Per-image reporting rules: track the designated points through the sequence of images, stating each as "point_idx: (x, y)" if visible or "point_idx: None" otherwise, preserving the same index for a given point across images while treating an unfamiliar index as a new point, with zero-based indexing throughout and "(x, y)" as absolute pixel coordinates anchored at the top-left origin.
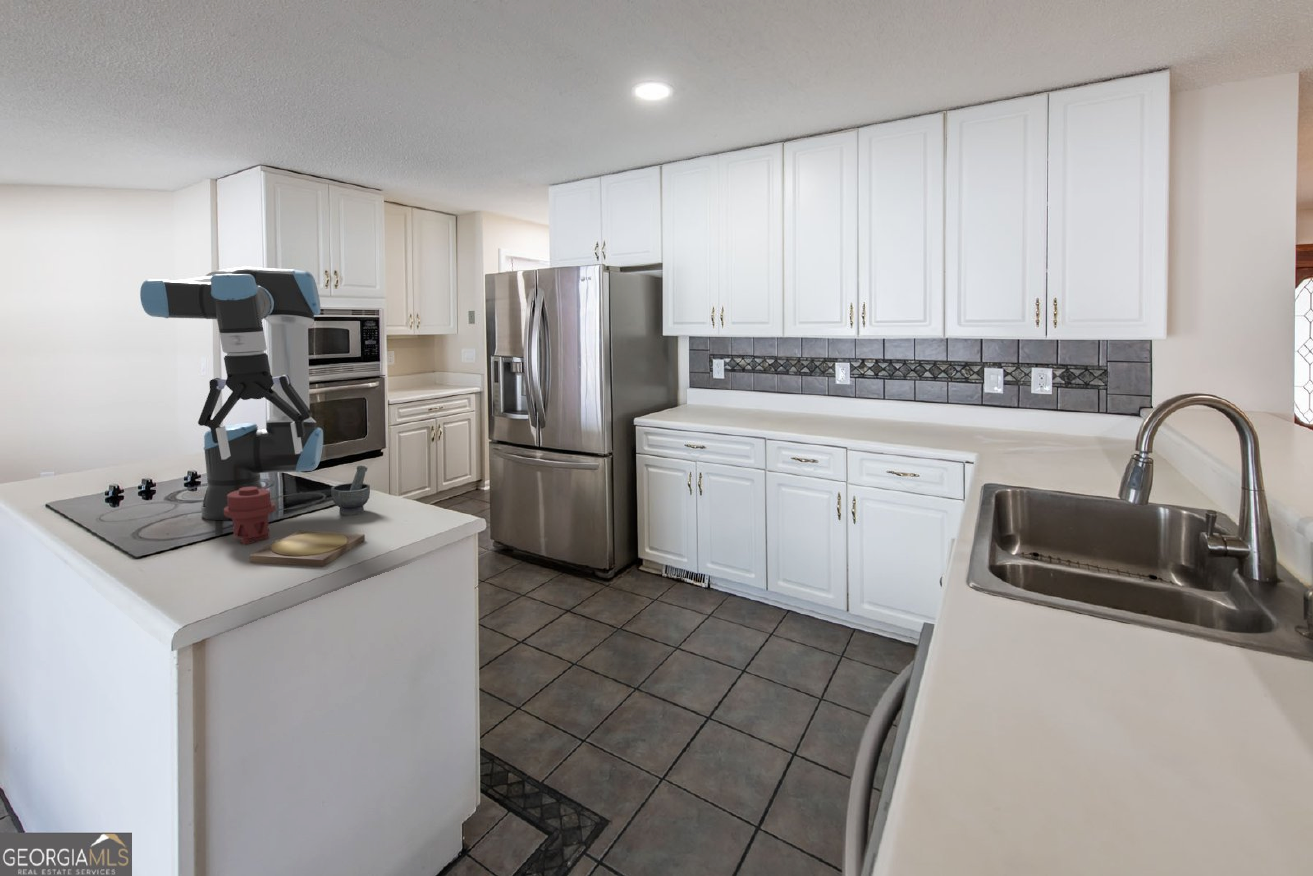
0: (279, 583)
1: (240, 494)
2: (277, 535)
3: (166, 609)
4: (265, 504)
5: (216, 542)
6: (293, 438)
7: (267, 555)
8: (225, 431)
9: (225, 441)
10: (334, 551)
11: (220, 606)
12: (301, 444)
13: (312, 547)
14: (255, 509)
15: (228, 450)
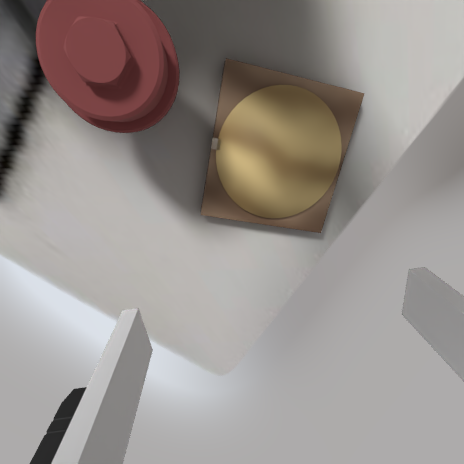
0: (277, 285)
1: (92, 84)
2: None
3: (186, 353)
4: (165, 82)
5: None
6: (457, 371)
7: (229, 215)
8: (95, 432)
9: (124, 393)
10: (329, 195)
11: (239, 344)
12: (446, 285)
13: (291, 182)
14: (153, 109)
15: (134, 338)
